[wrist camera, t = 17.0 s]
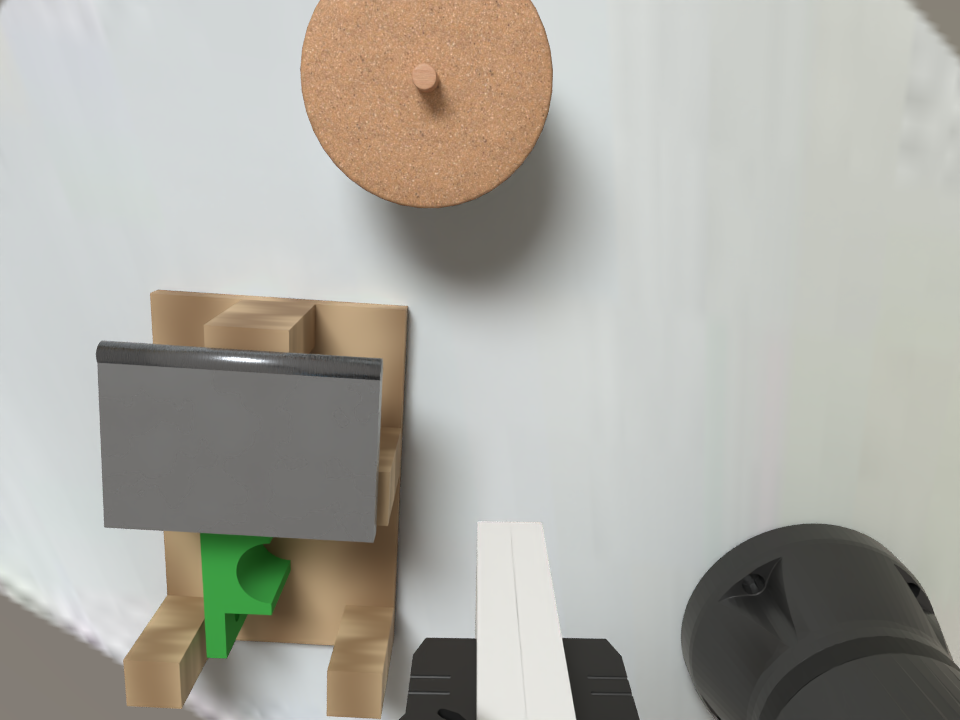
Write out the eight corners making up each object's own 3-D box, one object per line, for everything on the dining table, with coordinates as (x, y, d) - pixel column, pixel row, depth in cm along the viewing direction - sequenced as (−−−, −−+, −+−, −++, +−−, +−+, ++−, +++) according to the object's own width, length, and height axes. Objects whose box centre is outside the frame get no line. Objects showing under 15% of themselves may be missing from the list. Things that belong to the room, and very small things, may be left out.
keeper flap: (383, 356, 35) (380, 361, 34) (376, 532, 37) (373, 543, 36) (108, 338, 35) (95, 343, 34) (115, 517, 37) (103, 528, 36)
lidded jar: (528, 204, 40) (543, 221, 31) (330, 188, 40) (289, 201, 31) (548, -12, 37) (571, -61, 28) (335, -31, 37) (290, -86, 28)
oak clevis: (407, 306, 42) (394, 337, 35) (393, 638, 48) (380, 718, 41) (157, 289, 42) (96, 318, 35) (175, 626, 48) (126, 705, 41)
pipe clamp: (292, 611, 46) (273, 661, 42) (232, 609, 46) (206, 658, 42) (288, 446, 43) (267, 481, 39) (223, 443, 43) (195, 478, 39)
